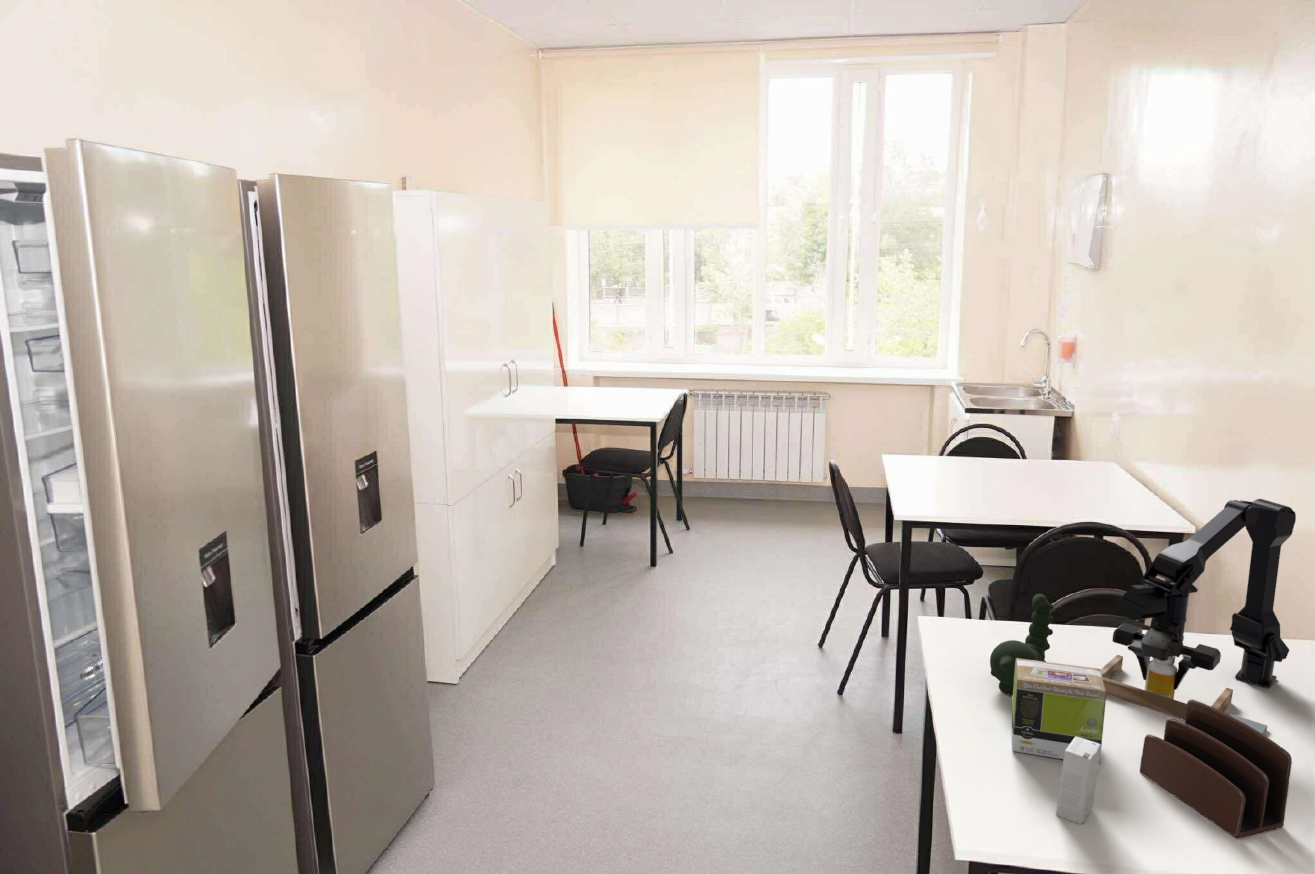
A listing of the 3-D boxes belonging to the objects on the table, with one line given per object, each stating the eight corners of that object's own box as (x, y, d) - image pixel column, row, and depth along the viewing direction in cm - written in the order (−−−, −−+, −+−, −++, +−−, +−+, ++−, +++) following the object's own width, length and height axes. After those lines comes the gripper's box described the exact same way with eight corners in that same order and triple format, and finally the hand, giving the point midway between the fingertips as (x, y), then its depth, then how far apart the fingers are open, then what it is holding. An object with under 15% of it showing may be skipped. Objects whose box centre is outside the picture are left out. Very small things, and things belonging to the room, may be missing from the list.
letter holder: (1182, 763, 168) (1192, 691, 165) (1284, 828, 149) (1297, 749, 146) (1138, 772, 165) (1147, 700, 162) (1236, 840, 146) (1249, 760, 143)
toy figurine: (1015, 664, 209) (974, 696, 190) (1025, 584, 206) (985, 608, 187) (1059, 677, 203) (1020, 711, 184) (1070, 594, 200) (1032, 620, 181)
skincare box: (1066, 798, 157) (1073, 733, 154) (1094, 809, 154) (1102, 743, 151) (1054, 815, 152) (1061, 748, 150) (1083, 826, 149) (1091, 759, 147)
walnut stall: (1115, 667, 205) (1117, 654, 204) (1231, 702, 189) (1233, 689, 189) (1091, 689, 195) (1092, 676, 194) (1210, 728, 179) (1212, 714, 179)
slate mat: (1225, 717, 184) (1226, 712, 183) (1266, 730, 179) (1267, 725, 179) (1211, 735, 177) (1211, 731, 176) (1253, 750, 172) (1254, 745, 172)
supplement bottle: (1177, 705, 188) (1183, 661, 186) (1148, 702, 189) (1154, 658, 187) (1168, 692, 193) (1174, 649, 191) (1140, 690, 194) (1146, 647, 192)
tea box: (1093, 739, 175) (1102, 667, 172) (1099, 767, 166) (1108, 691, 163) (1008, 725, 180) (1015, 655, 177) (1010, 752, 171) (1017, 678, 168)
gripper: (1107, 611, 188) (1098, 681, 191) (1209, 639, 175) (1198, 714, 179) (1126, 596, 196) (1117, 664, 199) (1226, 622, 183) (1215, 694, 186)
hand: (1160, 684), depth 191 cm, fingers closed on supplement bottle, 5 cm apart
